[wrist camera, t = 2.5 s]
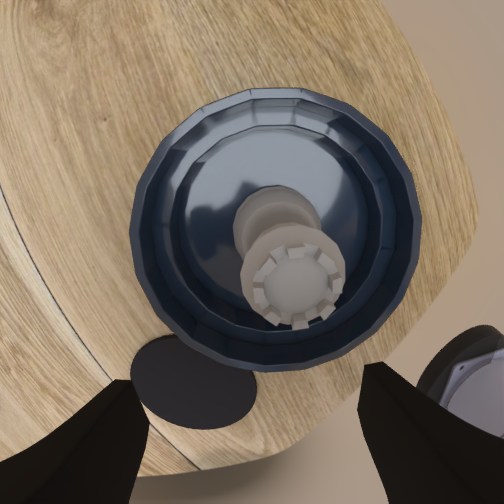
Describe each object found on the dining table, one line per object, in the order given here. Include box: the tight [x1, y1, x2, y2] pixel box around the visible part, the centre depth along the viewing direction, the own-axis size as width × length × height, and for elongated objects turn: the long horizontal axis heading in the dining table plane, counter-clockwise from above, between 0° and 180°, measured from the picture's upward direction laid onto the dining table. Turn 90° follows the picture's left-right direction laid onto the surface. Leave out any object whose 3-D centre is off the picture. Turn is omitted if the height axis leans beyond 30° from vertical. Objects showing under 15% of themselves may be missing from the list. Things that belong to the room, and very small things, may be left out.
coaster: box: [130, 335, 257, 430], centre depth 19 cm, size 9×9×1 cm
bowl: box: [129, 88, 422, 373], centre depth 14 cm, size 13×13×4 cm
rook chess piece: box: [233, 186, 345, 330], centre depth 12 cm, size 4×4×8 cm
